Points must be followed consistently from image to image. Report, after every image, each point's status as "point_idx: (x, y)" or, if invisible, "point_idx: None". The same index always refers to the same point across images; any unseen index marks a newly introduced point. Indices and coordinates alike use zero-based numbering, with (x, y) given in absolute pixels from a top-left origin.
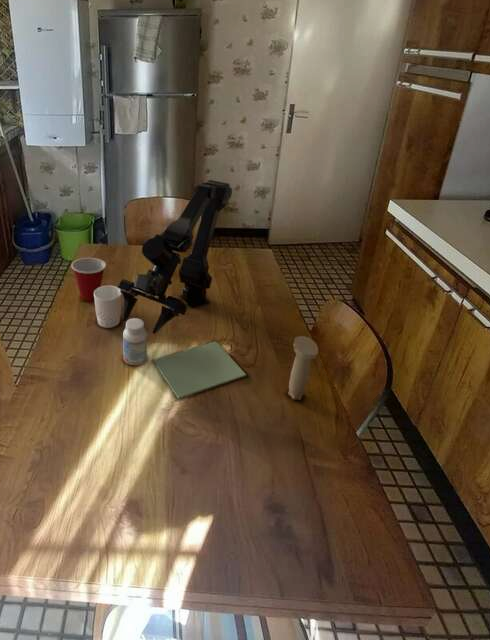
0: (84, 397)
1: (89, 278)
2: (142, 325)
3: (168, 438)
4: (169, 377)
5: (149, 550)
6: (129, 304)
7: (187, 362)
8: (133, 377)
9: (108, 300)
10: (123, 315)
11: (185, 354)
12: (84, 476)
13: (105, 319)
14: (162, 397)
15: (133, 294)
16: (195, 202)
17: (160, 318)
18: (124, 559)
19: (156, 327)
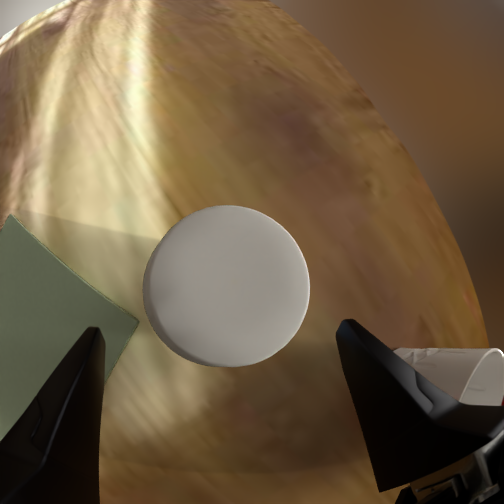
0: (235, 90)
1: None
2: (158, 301)
3: (17, 116)
4: (51, 270)
5: (33, 24)
6: (402, 415)
7: (43, 369)
8: (156, 210)
9: (469, 376)
10: (372, 336)
11: None
12: (131, 13)
13: (408, 357)
14: (47, 194)
15: (426, 486)
16: None
17: (42, 421)
18: (56, 9)
19: (69, 357)
